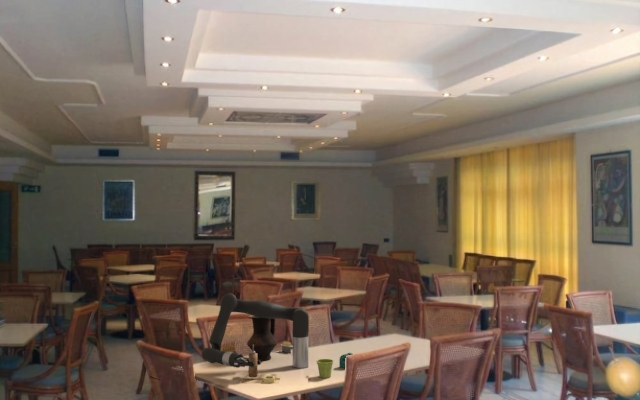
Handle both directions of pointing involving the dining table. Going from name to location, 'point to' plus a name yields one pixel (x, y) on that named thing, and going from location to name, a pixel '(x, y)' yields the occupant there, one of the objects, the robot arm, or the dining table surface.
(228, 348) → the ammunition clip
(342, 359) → the bracket
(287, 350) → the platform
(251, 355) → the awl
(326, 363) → the plant pot
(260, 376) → the plywood panel
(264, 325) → the jug
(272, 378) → the stud finder
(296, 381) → the dining table surface
